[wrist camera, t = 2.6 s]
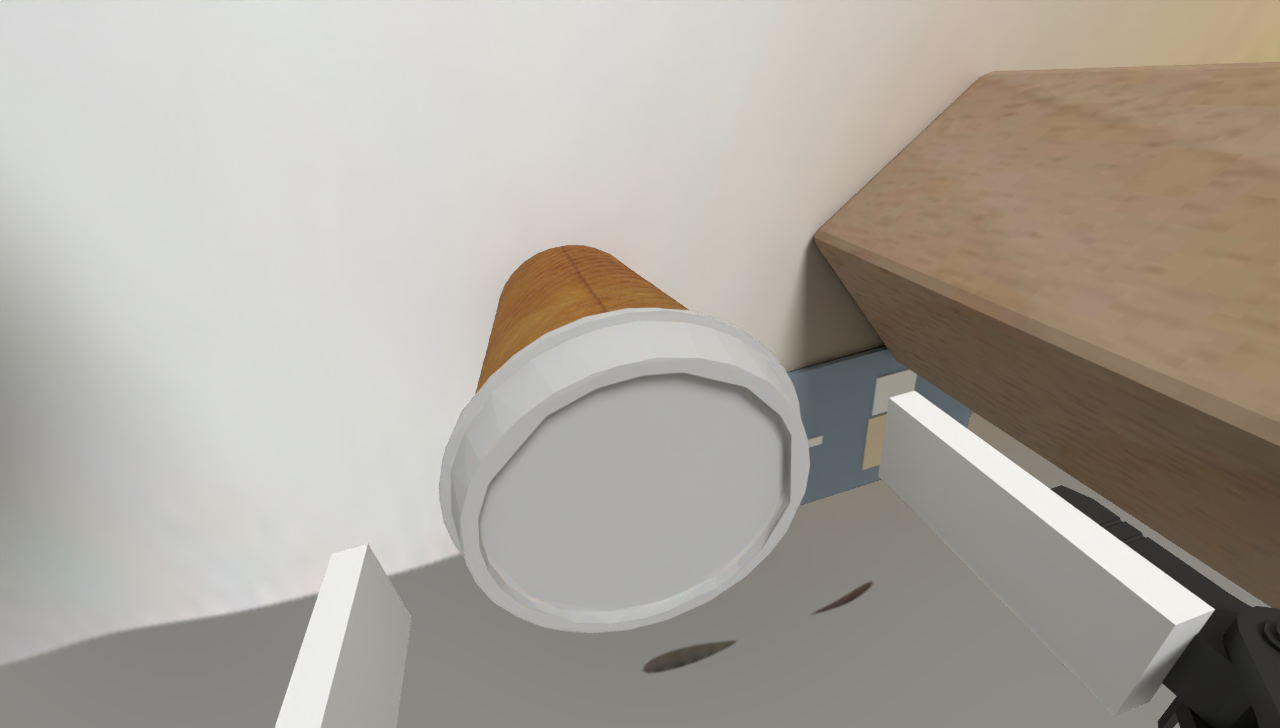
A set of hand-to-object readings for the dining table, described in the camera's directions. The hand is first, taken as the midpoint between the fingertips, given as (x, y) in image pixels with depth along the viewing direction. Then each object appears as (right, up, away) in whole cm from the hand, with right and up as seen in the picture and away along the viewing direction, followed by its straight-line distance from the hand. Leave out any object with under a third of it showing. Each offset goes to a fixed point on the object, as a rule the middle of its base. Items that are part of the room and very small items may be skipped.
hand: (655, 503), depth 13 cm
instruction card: (+11, 0, +17) cm, 21 cm away
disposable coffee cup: (-3, +6, +10) cm, 12 cm away
